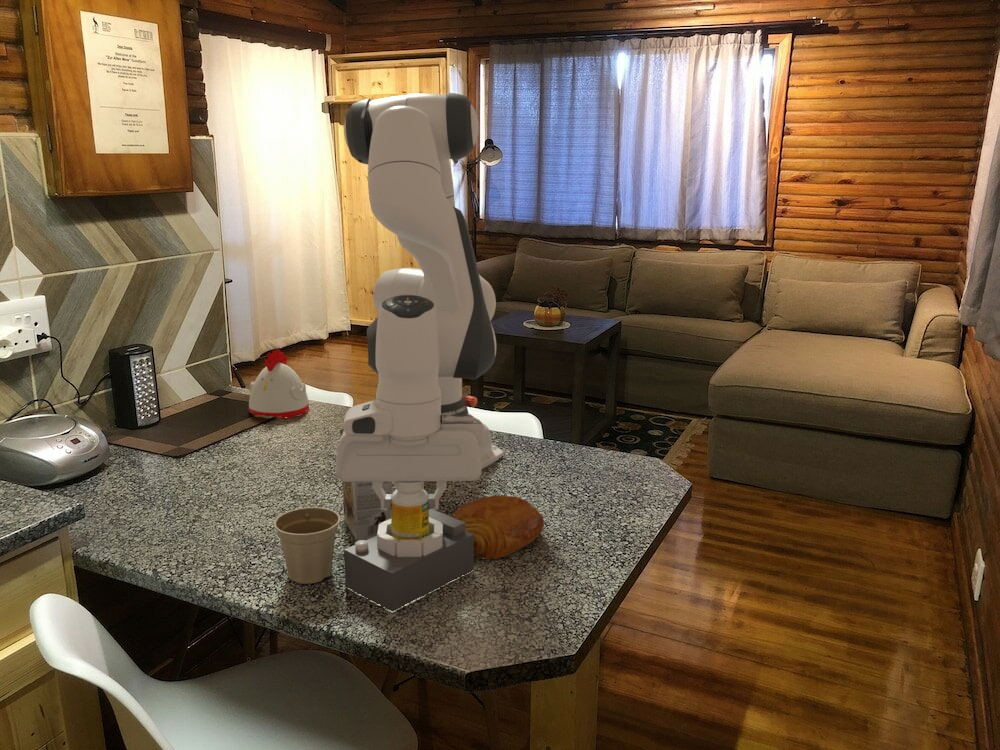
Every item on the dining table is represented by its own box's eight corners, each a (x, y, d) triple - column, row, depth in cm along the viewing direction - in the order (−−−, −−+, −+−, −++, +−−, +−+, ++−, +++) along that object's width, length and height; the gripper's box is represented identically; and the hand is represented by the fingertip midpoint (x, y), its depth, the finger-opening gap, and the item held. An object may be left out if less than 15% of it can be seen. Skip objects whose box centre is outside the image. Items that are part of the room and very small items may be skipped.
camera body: (426, 549, 127) (426, 502, 125) (473, 571, 121) (474, 521, 119) (345, 587, 115) (343, 536, 113) (392, 613, 109) (391, 559, 107)
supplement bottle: (393, 532, 119) (392, 471, 117) (430, 532, 119) (429, 471, 117) (389, 549, 114) (388, 485, 111) (427, 549, 114) (427, 485, 112)
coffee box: (342, 519, 137) (339, 428, 133) (379, 513, 140) (377, 424, 136) (355, 542, 129) (352, 446, 125) (394, 535, 132) (392, 441, 128)
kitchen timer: (237, 415, 191) (233, 353, 187) (270, 400, 204) (267, 341, 200) (288, 422, 187) (285, 359, 183) (319, 406, 200) (317, 346, 196)
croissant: (556, 550, 133) (563, 504, 131) (494, 572, 121) (501, 521, 120) (491, 521, 142) (497, 478, 140) (427, 539, 130) (433, 491, 129)
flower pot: (267, 569, 120) (263, 515, 118) (326, 553, 125) (324, 501, 123) (291, 597, 113) (288, 540, 111) (353, 578, 118) (351, 524, 116)
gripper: (483, 408, 115) (481, 498, 119) (337, 408, 114) (340, 499, 118) (485, 422, 109) (483, 516, 113) (331, 422, 108) (335, 518, 112)
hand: (409, 508), depth 115 cm, fingers closed on supplement bottle, 5 cm apart
